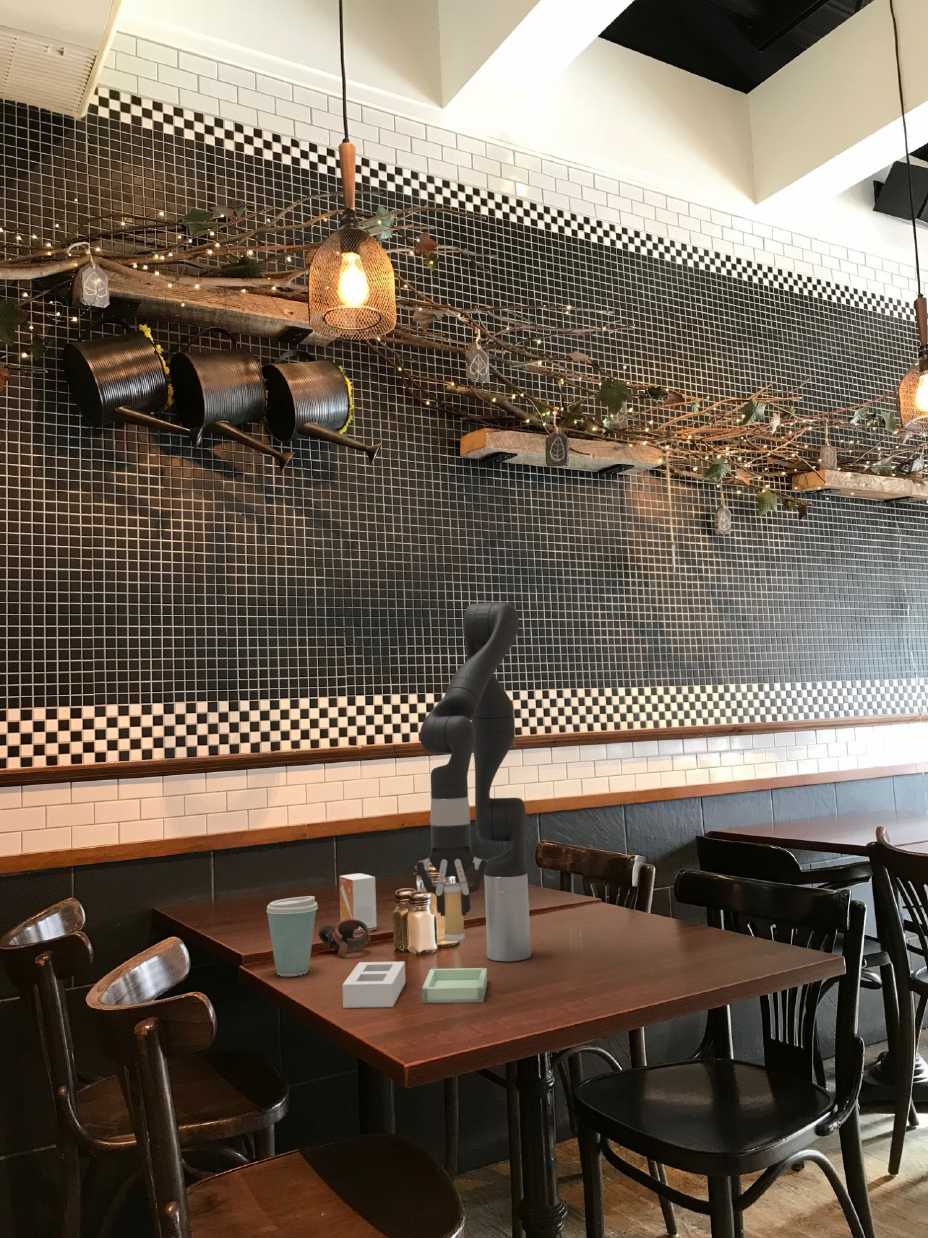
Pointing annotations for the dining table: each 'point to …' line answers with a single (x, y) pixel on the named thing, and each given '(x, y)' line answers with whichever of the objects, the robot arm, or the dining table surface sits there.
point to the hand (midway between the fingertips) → (453, 914)
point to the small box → (358, 898)
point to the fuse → (453, 912)
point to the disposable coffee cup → (292, 933)
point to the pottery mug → (344, 936)
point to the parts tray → (455, 985)
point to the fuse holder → (374, 984)
